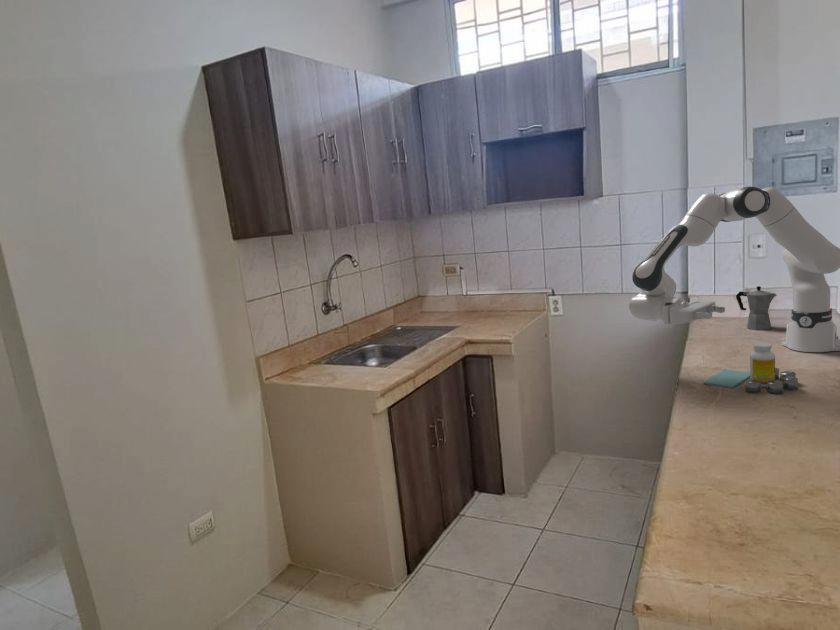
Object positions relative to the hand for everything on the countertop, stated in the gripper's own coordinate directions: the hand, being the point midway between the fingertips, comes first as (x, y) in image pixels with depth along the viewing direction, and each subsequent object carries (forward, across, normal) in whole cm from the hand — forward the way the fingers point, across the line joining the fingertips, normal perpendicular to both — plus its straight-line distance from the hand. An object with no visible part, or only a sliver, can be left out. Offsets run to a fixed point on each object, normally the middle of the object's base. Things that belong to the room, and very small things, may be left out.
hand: (717, 312), depth 182 cm
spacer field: (+17, 0, -22) cm, 28 cm away
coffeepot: (-15, -72, -22) cm, 77 cm away
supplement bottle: (+13, 0, -22) cm, 26 cm away
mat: (+3, 0, -22) cm, 22 cm away
